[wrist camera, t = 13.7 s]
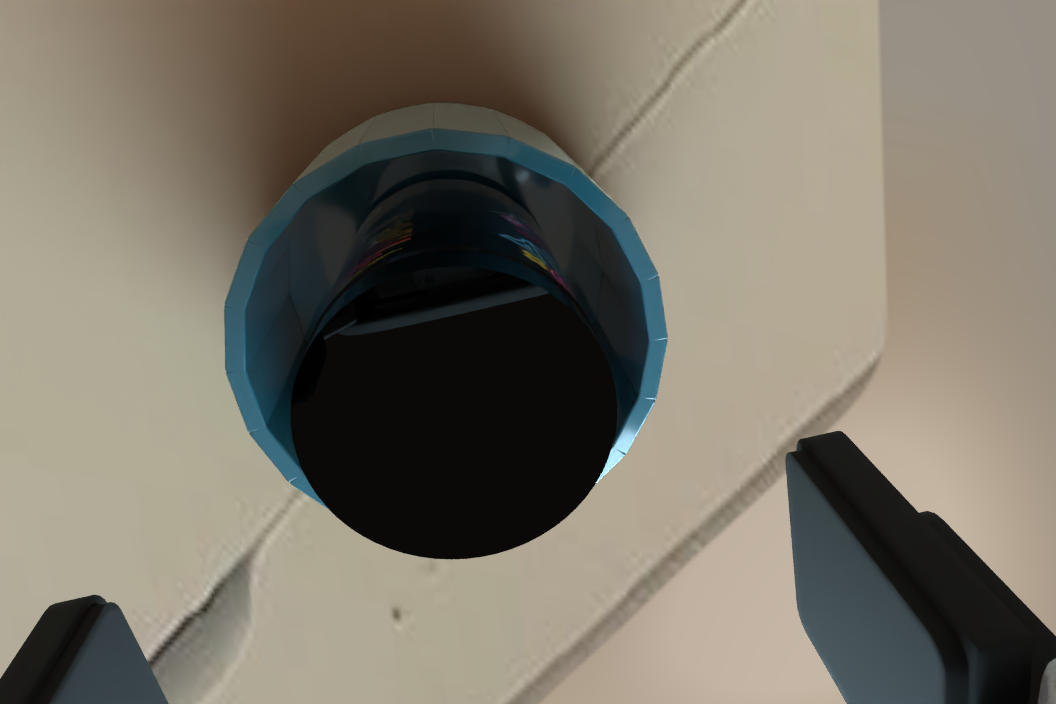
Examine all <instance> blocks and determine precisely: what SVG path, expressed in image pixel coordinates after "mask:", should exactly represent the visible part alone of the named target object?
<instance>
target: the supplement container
mask: <svg viewBox="0 0 1056 704" xmlns="http://www.w3.org/2000/svg"><path fill="white" fill-rule="evenodd" d="M290 421H291V432H292V440H293V444H294V448H295V452H296V455H297V458H298V461H299V463H300V466H301V469H302V471H303V473H304V475H305V477H306V478H307V480H308V482H309V484H310V485H311V487H312V488H313V490H314V492H315V493H316V495H317V496H318V497H319V498H320V500H321V501H322V502H323V503H324V504H325V506H326V507H327V508H328V509H329V510H330V511H331V512H332V513H333V514H334V515H335V516H336V517H337V518H339V519H340V520H341V521H342V522H344V523H345V524H346V525H347V526H348V527H350V528H351V529H353V530H354V531H356V532H357V533H359V534H360V535H362V536H364V537H366V538H368V539H370V540H371V541H373V542H375V543H378V544H380V545H382V546H385V547H387V548H390V549H393V550H396V551H399V552H402V553H406V554H410V555H415V556H419V557H426V558H434V559H468V558H475V557H483V556H487V555H492V554H497V553H500V552H503V551H507V550H510V549H513V548H515V547H518V546H520V545H523V544H525V543H527V542H529V541H531V540H533V539H535V538H537V537H539V536H541V535H542V534H544V533H546V532H547V531H549V530H550V529H552V528H553V527H555V526H556V525H557V524H559V523H560V522H561V521H562V520H564V519H565V518H566V517H567V516H568V515H569V514H570V513H571V512H573V511H574V510H575V509H576V508H577V507H578V506H579V504H580V503H581V502H582V501H583V500H584V499H585V498H586V496H587V495H588V494H589V492H590V491H591V489H592V488H593V487H594V485H595V484H596V482H597V480H598V479H599V477H600V475H601V473H602V472H603V469H604V467H605V465H606V463H607V460H608V458H609V455H610V452H611V449H612V446H613V441H614V437H615V432H616V424H617V397H616V389H615V384H614V380H613V376H612V372H611V369H610V366H609V364H608V361H607V358H606V356H605V354H604V352H603V350H602V348H601V346H600V344H599V341H598V338H597V336H596V333H595V331H594V329H593V327H592V325H591V323H590V321H589V319H588V317H587V315H586V314H585V312H584V311H583V309H582V308H581V306H580V305H579V303H578V302H577V301H576V299H575V297H574V295H573V293H572V291H571V289H570V287H569V285H568V283H567V281H566V279H565V277H564V275H563V273H562V271H561V268H560V266H559V264H558V262H557V260H556V258H555V256H554V254H553V252H552V250H551V248H550V246H549V244H548V242H547V240H546V238H545V236H544V234H543V232H542V231H541V229H540V227H539V226H538V224H537V223H536V221H535V220H534V219H533V218H532V217H531V215H530V214H529V213H528V212H527V211H526V210H525V209H524V208H523V207H522V206H521V205H520V204H518V203H517V202H516V201H515V200H513V199H512V198H511V197H509V196H507V195H506V194H504V193H503V192H501V191H499V190H497V189H495V188H493V187H490V186H487V185H485V184H482V183H478V182H474V181H470V180H463V179H450V178H448V179H435V180H428V181H424V182H420V183H416V184H413V185H410V186H408V187H405V188H403V189H401V190H399V191H397V192H395V193H394V194H392V195H390V196H389V197H387V198H386V199H384V200H383V201H382V202H381V203H379V204H378V205H377V206H376V207H375V208H374V209H373V210H372V211H371V212H370V213H369V214H368V215H367V217H366V218H365V219H364V220H363V222H362V223H361V225H360V226H359V228H358V229H357V231H356V233H355V235H354V237H353V239H352V241H351V243H350V246H349V248H348V251H347V253H346V256H345V258H344V261H343V263H342V266H341V268H340V271H339V273H338V276H337V278H336V281H335V283H334V286H333V288H332V291H331V293H330V296H329V298H328V301H327V303H326V306H325V309H324V311H323V313H322V314H321V316H320V318H319V319H318V321H317V323H316V325H315V327H314V329H313V331H312V333H311V335H310V338H309V341H308V344H307V346H306V349H305V353H304V357H303V359H302V362H301V364H300V367H299V370H298V373H297V376H296V379H295V383H294V387H293V392H292V399H291V408H290Z"/></svg>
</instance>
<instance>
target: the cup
mask: <svg viewBox="0 0 1056 704" xmlns="http://www.w3.org/2000/svg"><path fill="white" fill-rule="evenodd" d="M448 178H450V179H463V180H470V181H474V182H478V183H482V184H485V185H487V186H490V187H493V188H495V189H497V190H499V191H501V192H503V193H504V194H506V195H507V196H509V197H511V198H512V199H513V200H515V201H516V202H517V203H518V204H520V205H521V206H522V207H523V208H524V209H525V210H526V211H527V212H528V213H529V214H530V215H531V217H532V218H533V219H534V220H535V221H536V223H537V224H538V226H539V227H540V229H541V231H542V232H543V234H544V236H545V238H546V240H547V242H548V244H549V246H550V248H551V250H552V252H553V254H554V256H555V258H556V260H557V262H558V264H559V266H560V268H561V271H562V273H563V275H564V277H565V279H566V281H567V283H568V285H569V287H570V289H571V291H572V293H573V295H574V297H575V299H576V301H577V302H578V303H579V305H580V306H581V308H582V309H583V311H584V312H585V314H586V315H587V317H588V319H589V321H590V323H591V325H592V327H593V329H594V331H595V333H596V336H597V338H598V341H599V344H600V346H601V348H602V350H603V352H604V354H605V356H606V358H607V361H608V364H609V366H610V369H611V372H612V376H613V380H614V384H615V389H616V397H617V424H616V432H615V437H614V441H613V446H612V449H611V452H610V455H609V458H608V460H607V463H606V465H605V467H604V469H603V472H602V473H601V475H600V477H599V479H598V480H597V482H598V481H599V480H600V479H601V478H602V477H603V476H604V475H605V474H606V473H607V472H608V471H609V470H610V469H612V468H613V467H614V466H615V465H616V464H617V463H618V462H619V461H620V460H621V459H622V458H623V457H624V456H625V453H627V452H628V450H629V448H630V446H631V445H632V443H633V441H634V439H635V437H636V436H637V434H638V432H639V430H640V428H641V427H642V425H643V423H644V421H645V419H646V417H647V416H648V414H649V412H650V410H651V408H652V407H653V405H654V403H655V399H656V398H657V393H658V388H659V382H660V377H661V372H662V367H663V361H664V356H665V351H666V346H667V337H668V336H667V329H666V322H665V315H664V307H663V300H662V293H661V286H660V279H659V276H658V272H657V270H656V268H655V266H654V265H653V263H652V261H651V259H650V257H649V255H648V253H647V251H646V249H645V247H644V245H643V243H642V241H641V239H640V237H639V236H638V234H637V232H636V230H635V228H634V226H633V224H632V222H631V220H630V218H629V217H628V216H627V214H626V213H625V212H624V211H623V210H622V209H621V208H620V207H619V206H618V205H617V204H616V203H615V202H614V201H613V200H612V199H611V198H610V197H609V196H608V195H607V194H606V192H605V191H604V190H603V189H602V188H601V187H600V186H599V185H598V184H597V183H596V182H595V181H594V180H593V179H592V178H591V177H590V176H589V175H588V174H587V173H586V172H585V171H584V170H583V169H582V168H581V167H580V166H579V165H578V164H577V163H576V162H574V161H573V160H572V159H571V158H570V157H569V156H568V155H567V154H566V153H565V152H564V151H563V150H562V149H561V148H560V147H559V146H558V145H557V144H556V143H554V142H553V141H552V140H551V139H550V138H549V137H548V136H547V135H546V134H544V133H543V132H541V131H539V130H537V129H535V128H532V127H531V126H529V125H527V124H525V123H524V122H522V121H520V120H518V119H515V118H513V117H510V116H508V115H506V114H503V113H501V112H498V111H496V110H492V109H489V108H483V107H479V106H473V105H465V104H457V103H428V104H421V105H414V106H407V107H403V108H400V109H397V110H393V111H390V112H386V113H383V114H379V115H378V116H374V117H372V118H371V119H369V120H367V121H365V122H363V123H361V124H360V125H358V126H356V127H355V128H353V129H352V130H350V131H348V132H347V133H345V134H344V135H342V136H341V137H340V138H338V139H336V140H335V141H333V142H331V143H330V144H329V145H328V146H326V147H325V148H324V149H323V150H322V152H321V153H320V154H319V155H318V156H317V157H316V158H315V159H314V160H313V161H312V163H311V164H310V165H309V166H308V167H307V168H306V169H305V170H304V171H303V173H302V174H301V175H300V176H299V177H298V178H297V179H296V180H295V181H294V182H293V184H292V185H291V186H290V187H289V188H288V190H287V191H286V192H285V193H284V194H283V196H282V197H281V198H280V199H279V201H278V202H277V203H276V204H275V205H274V207H273V208H272V209H271V210H270V212H269V213H268V214H267V215H266V216H265V218H264V219H263V220H262V221H261V222H260V224H259V225H258V226H257V227H256V229H255V230H254V231H253V232H252V233H251V235H250V236H249V237H248V240H247V241H246V243H245V246H244V249H243V252H242V254H241V257H240V260H239V263H238V266H237V269H236V272H235V275H234V277H233V280H232V283H231V286H230V289H229V292H228V295H227V298H226V300H225V306H224V329H225V370H226V371H227V372H226V375H227V377H228V380H229V383H230V385H231V388H232V391H233V393H234V396H235V399H236V401H237V404H238V407H239V409H240V412H241V415H242V417H243V420H244V422H245V425H246V428H247V430H248V432H249V434H250V435H251V437H252V438H253V439H254V440H255V442H256V443H257V444H258V445H259V446H260V448H261V449H262V450H263V451H264V453H265V454H266V455H267V456H268V458H269V459H270V460H271V461H272V462H273V464H274V465H275V466H276V467H277V469H278V470H279V471H280V472H281V474H282V475H283V476H284V477H285V478H286V480H287V481H288V482H290V484H291V485H293V486H294V487H296V488H297V489H299V490H300V491H302V492H303V493H305V494H306V495H308V496H309V497H311V498H312V499H314V500H315V501H317V502H318V503H320V504H321V505H323V506H324V507H326V506H325V504H324V503H323V502H322V501H321V500H320V498H319V497H318V496H317V495H316V493H315V492H314V490H313V488H312V487H311V485H310V484H309V482H308V480H307V478H306V477H305V475H304V473H303V471H302V469H301V466H300V463H299V461H298V458H297V455H296V452H295V448H294V444H293V440H292V432H291V421H290V408H291V399H292V392H293V387H294V383H295V379H296V376H297V373H298V370H299V367H300V364H301V362H302V359H303V357H304V353H305V349H306V346H307V344H308V341H309V338H310V335H311V333H312V331H313V329H314V327H315V325H316V323H317V321H318V319H319V318H320V316H321V314H322V313H323V311H324V309H325V306H326V303H327V301H328V298H329V296H330V293H331V291H332V288H333V286H334V283H335V281H336V278H337V276H338V273H339V271H340V268H341V266H342V263H343V261H344V258H345V256H346V253H347V251H348V248H349V246H350V243H351V241H352V239H353V237H354V235H355V233H356V231H357V229H358V228H359V226H360V225H361V223H362V222H363V220H364V219H365V218H366V217H367V215H368V214H369V213H370V212H371V211H372V210H373V209H374V208H375V207H376V206H377V205H378V204H379V203H381V202H382V201H383V200H384V199H386V198H387V197H389V196H390V195H392V194H394V193H395V192H397V191H399V190H401V189H403V188H405V187H408V186H410V185H413V184H416V183H420V182H424V181H428V180H435V179H448ZM597 482H596V483H597ZM326 508H327V507H326ZM327 509H328V508H327Z"/></svg>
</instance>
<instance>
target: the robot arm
mask: <svg viewBox="0 0 1056 704" xmlns="http://www.w3.org/2000/svg"><path fill="white" fill-rule="evenodd" d="M786 475H787V487H788V498H789V499H788V500H789V511H790V524H791V537H792V549H793V562H794V574H795V587H796V599H797V607H798V612H799V616H800V619H801V622H802V625H803V627H804V629H805V631H806V633H807V635H808V637H809V638H810V640H811V642H812V644H813V645H814V647H815V649H816V650H817V652H818V654H819V656H820V657H821V659H822V661H823V663H824V665H825V666H826V668H827V670H828V671H829V673H830V675H831V677H832V678H833V680H834V682H835V683H836V685H837V687H838V689H839V691H840V692H841V694H842V696H843V698H844V699H845V701H846V703H847V704H1056V636H1055V635H1054V634H1053V633H1052V632H1051V631H1050V630H1049V629H1048V628H1047V627H1046V626H1045V625H1044V624H1043V623H1042V622H1041V620H1040V619H1039V618H1038V617H1037V616H1036V615H1035V614H1034V613H1033V612H1032V611H1031V610H1030V609H1029V608H1028V607H1027V606H1026V605H1025V604H1024V603H1023V602H1022V601H1021V600H1020V599H1019V598H1018V597H1017V596H1016V595H1015V594H1014V593H1013V592H1012V591H1011V589H1009V587H1008V586H1007V585H1006V584H1005V583H1004V582H1003V581H1002V580H1001V579H1000V578H999V577H998V576H997V575H996V574H995V573H994V572H993V571H992V570H991V569H990V568H989V567H988V566H987V565H986V564H985V563H984V562H983V561H982V560H981V558H979V556H977V554H976V553H975V552H974V551H973V550H972V549H971V548H970V547H969V546H968V545H967V544H966V543H965V542H964V541H963V540H962V539H961V538H960V537H959V536H958V535H957V534H956V533H955V532H954V531H953V530H952V529H951V528H950V526H949V525H948V524H947V523H946V522H945V521H944V520H943V519H941V518H940V517H939V516H938V515H936V514H935V513H932V512H929V511H925V512H921V513H918V512H917V511H916V510H915V508H914V507H913V506H912V505H911V504H910V503H909V502H908V501H907V500H906V499H905V498H904V497H903V496H902V494H901V493H900V492H899V491H898V490H897V489H896V488H895V487H894V486H893V485H892V484H891V483H890V482H889V481H888V480H887V478H886V477H885V476H884V475H883V474H882V473H881V472H880V471H879V470H878V469H877V468H876V467H875V466H874V464H872V462H870V460H869V459H868V458H867V457H866V456H865V455H864V454H863V453H862V452H861V451H860V450H859V448H858V447H857V446H856V445H855V444H854V443H853V442H852V441H851V440H850V439H849V438H848V437H847V436H846V434H844V433H843V432H841V431H835V432H831V433H826V434H822V435H817V436H813V437H808V438H804V439H800V440H799V441H798V443H797V451H794V452H789V453H787V454H786ZM0 704H168V702H167V700H166V698H165V696H164V694H163V692H162V690H161V688H160V686H159V684H158V682H157V680H156V678H155V676H154V674H153V672H152V670H151V668H150V666H149V664H148V662H147V660H146V658H145V656H144V654H143V652H142V650H141V648H140V646H139V644H138V642H137V641H136V639H135V637H134V635H133V633H132V631H131V629H130V627H129V625H128V623H127V621H126V619H125V617H124V615H123V613H122V611H121V609H120V608H119V606H118V605H116V604H115V603H112V602H109V603H107V602H106V601H105V599H103V598H102V597H101V596H98V595H91V596H87V597H82V598H78V599H73V600H69V601H64V602H60V603H55V604H53V605H51V606H49V608H48V609H47V610H46V611H45V612H44V614H43V615H42V617H41V618H40V620H39V621H38V623H37V624H36V626H35V627H34V629H33V630H32V632H31V633H30V635H29V636H28V638H27V639H26V641H25V642H24V644H23V645H22V647H21V648H20V650H19V651H18V653H17V654H16V656H15V657H14V659H13V660H12V662H11V664H10V665H9V667H8V668H7V670H6V671H5V673H4V674H3V676H2V677H1V679H0Z"/></svg>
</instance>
